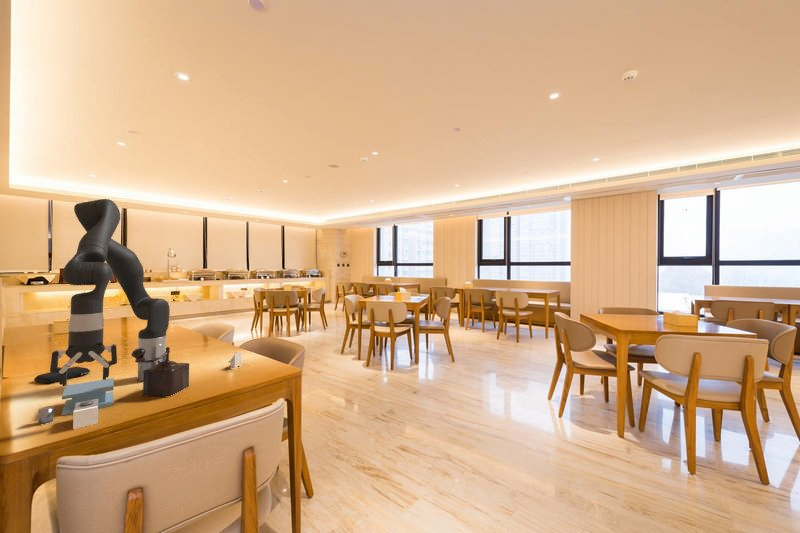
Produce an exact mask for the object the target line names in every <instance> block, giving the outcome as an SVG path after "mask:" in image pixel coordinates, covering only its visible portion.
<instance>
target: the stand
mask: <svg viewBox="0 0 800 533" xmlns="http://www.w3.org/2000/svg"><path fill="white" fill-rule="evenodd" d="M114 381H115V380H114V377H112V378H111V377H110V378H106V380H103V379H99V380H97V379H96V380H92V381H86V382H79V383H74V384H68V385H66V386H65V388H64V390H63V393H62V395H61V400H65V402H64V405H63V408H62V411H61V416H66V415H72V414H73V412H74V408H75V405H76V403H78V402H83V401H89V400H94V399H99V400H98V409H101V408H106V407H111V406H114Z"/></svg>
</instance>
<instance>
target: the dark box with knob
mask: <svg viewBox="0 0 800 533" xmlns="http://www.w3.org/2000/svg"><path fill="white" fill-rule="evenodd" d="M145 353H146V350H145V349H142V348H138V347H137V348H135V349H134V350H133V351H132V352H131V357H133V358H134V359H135V360H134V362H135V363H137V364H138V363H139V362H142V363H150V362H154V361H157V360H159V359H161V358H163V357H164V356H166V360H165V361H163V362H160V361H158V364H156V365H153V366H152V367H151V368H148V369H145V370H144V371H143V381H142V382H143V383H142V389H143V390H142V396H143V397H144V396H145V397H153V398H154V397H155V398H167V397H166V396H170V397H172V396H174V395H176V394H178V393H180V392H182V391H184V390H185V389H187V388H189V387H190V363H189V362H176V361H174V360H170V353H171V348H170V347H169V346H166V352H165V353H164V354H163V355H162V356H160V357H158V358H155V359H152V360H145V358H144V354H145ZM188 386H189V387H188ZM186 387H187V388H186ZM184 388H185V389H184ZM183 389H184V390H183ZM181 390H182V391H181ZM179 391H180V392H179ZM177 392H178V393H177ZM175 393H176V394H175ZM173 394H174V395H173ZM171 395H172V396H171Z"/></svg>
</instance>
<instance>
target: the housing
mask: <svg viewBox="0 0 800 533" xmlns="http://www.w3.org/2000/svg"><path fill="white" fill-rule="evenodd" d="M98 400H99V399H94V400H89V401H83V402H78V403H76V405H75V408H74V412H73V413H72V414H73V418H72V419H73V420H72V429H74V430H78V429H82V428H86V427H85V426H87V427H90V426H89V425H91V426H94V425H93V424H96V425H98V421H99V419H98V418H99V408H98ZM81 427H82V428H81ZM77 428H78V429H77Z"/></svg>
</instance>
